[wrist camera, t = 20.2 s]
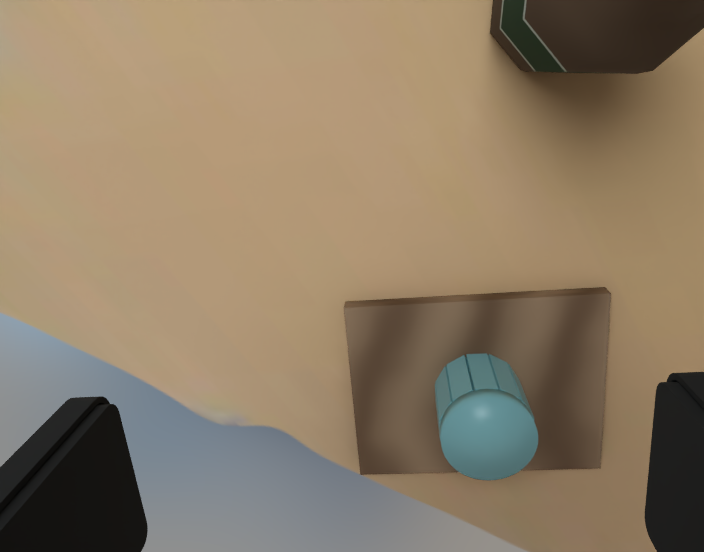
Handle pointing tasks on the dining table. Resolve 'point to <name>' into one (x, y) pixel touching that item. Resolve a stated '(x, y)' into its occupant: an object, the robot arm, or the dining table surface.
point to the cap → (484, 418)
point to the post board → (478, 338)
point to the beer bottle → (594, 33)
